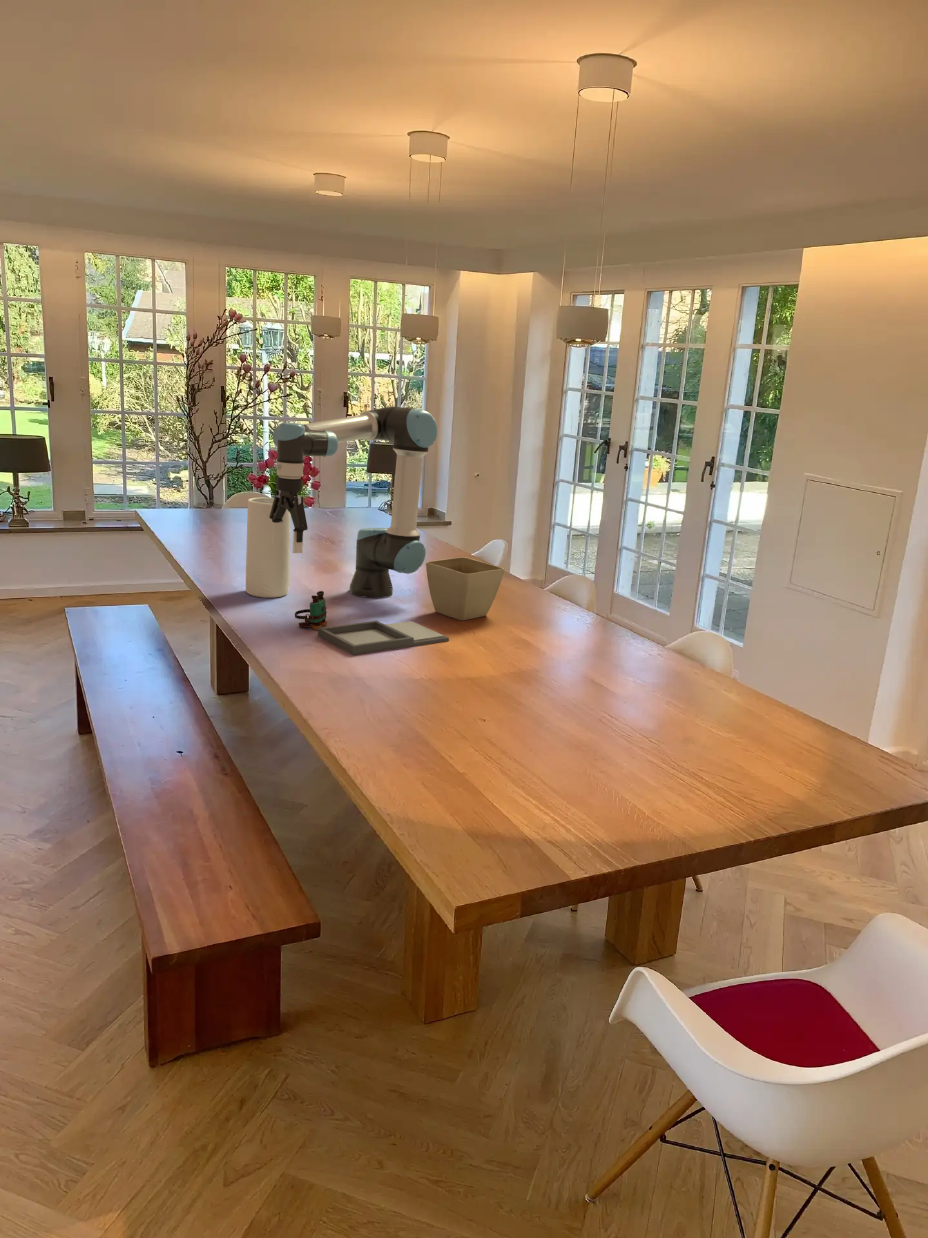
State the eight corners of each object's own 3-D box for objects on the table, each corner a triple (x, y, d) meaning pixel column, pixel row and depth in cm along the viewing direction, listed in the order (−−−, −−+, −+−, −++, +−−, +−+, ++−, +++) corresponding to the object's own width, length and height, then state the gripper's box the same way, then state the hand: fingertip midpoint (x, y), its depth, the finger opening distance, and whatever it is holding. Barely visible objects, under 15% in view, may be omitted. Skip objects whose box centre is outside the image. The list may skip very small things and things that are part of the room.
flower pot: (501, 617, 302) (506, 567, 298) (462, 625, 289) (466, 573, 284) (460, 604, 315) (464, 556, 310) (420, 611, 301) (424, 561, 296)
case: (411, 624, 285) (411, 616, 284) (448, 640, 271) (449, 632, 270) (317, 636, 264) (318, 628, 264) (353, 655, 250) (353, 646, 249)
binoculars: (299, 589, 277) (330, 590, 275) (301, 623, 279) (332, 624, 277) (288, 595, 268) (320, 596, 266) (290, 630, 271) (322, 631, 269)
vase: (296, 592, 312) (299, 500, 304) (274, 600, 299) (277, 505, 290) (259, 586, 316) (261, 495, 308) (237, 594, 303) (238, 500, 295)
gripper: (259, 471, 272) (257, 540, 278) (297, 482, 253) (294, 557, 259) (282, 471, 277) (280, 539, 282) (321, 482, 258) (318, 556, 263)
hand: (287, 548), depth 270 cm, fingers open, 13 cm apart
